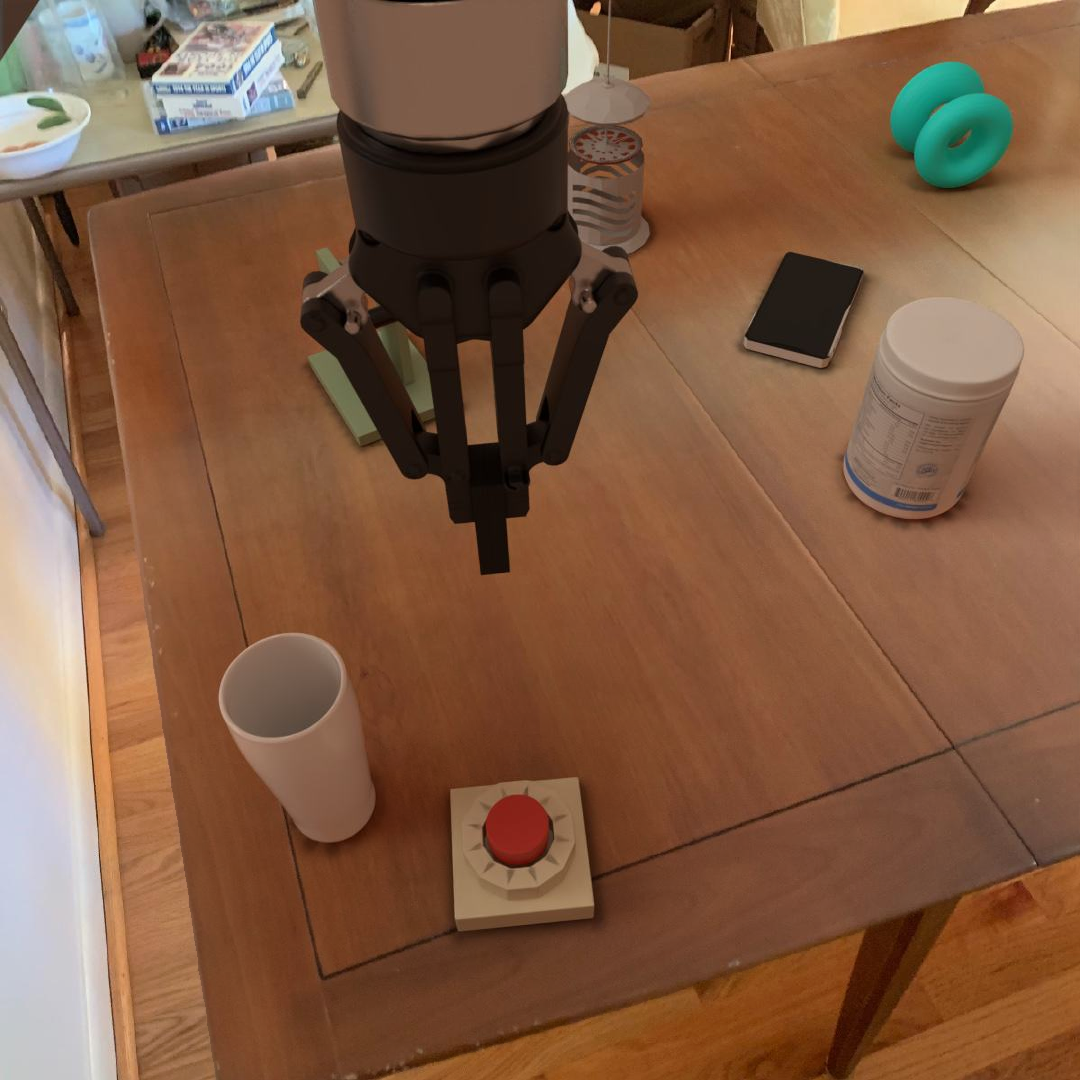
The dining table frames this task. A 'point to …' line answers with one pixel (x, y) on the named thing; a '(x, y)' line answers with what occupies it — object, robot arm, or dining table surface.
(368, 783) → the drinking glass
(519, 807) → the button
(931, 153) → the donuts
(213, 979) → the dining table surface
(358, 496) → the dining table surface
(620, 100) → the french press
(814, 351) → the smartphone
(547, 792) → the button box
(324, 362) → the bracket
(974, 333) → the supplement tub
